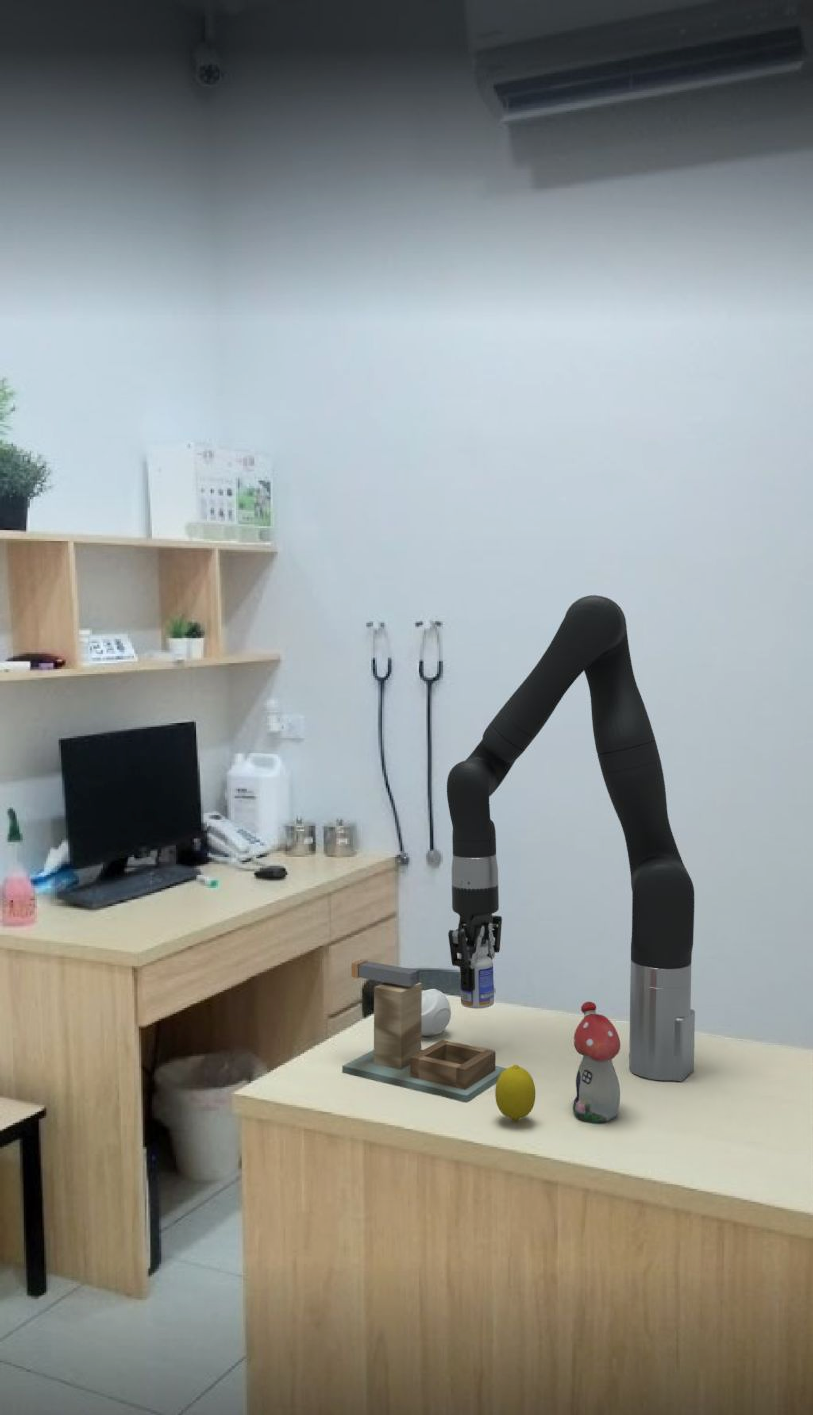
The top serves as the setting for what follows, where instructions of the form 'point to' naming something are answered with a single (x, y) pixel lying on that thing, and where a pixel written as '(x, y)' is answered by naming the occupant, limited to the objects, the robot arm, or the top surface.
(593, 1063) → the decorative ornament
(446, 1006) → the white rounded piece
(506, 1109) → the lemon
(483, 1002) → the pill bottle
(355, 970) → the bar
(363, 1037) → the top surface
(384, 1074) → the socket board
